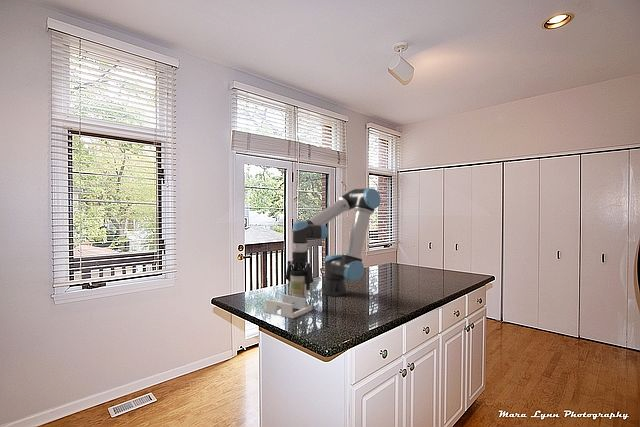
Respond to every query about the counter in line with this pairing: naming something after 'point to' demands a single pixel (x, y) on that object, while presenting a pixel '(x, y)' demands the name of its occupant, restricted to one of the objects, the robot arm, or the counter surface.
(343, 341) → the counter surface
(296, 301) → the pusher
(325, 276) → the robot arm
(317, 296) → the counter surface
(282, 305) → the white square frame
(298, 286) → the coffee cup
